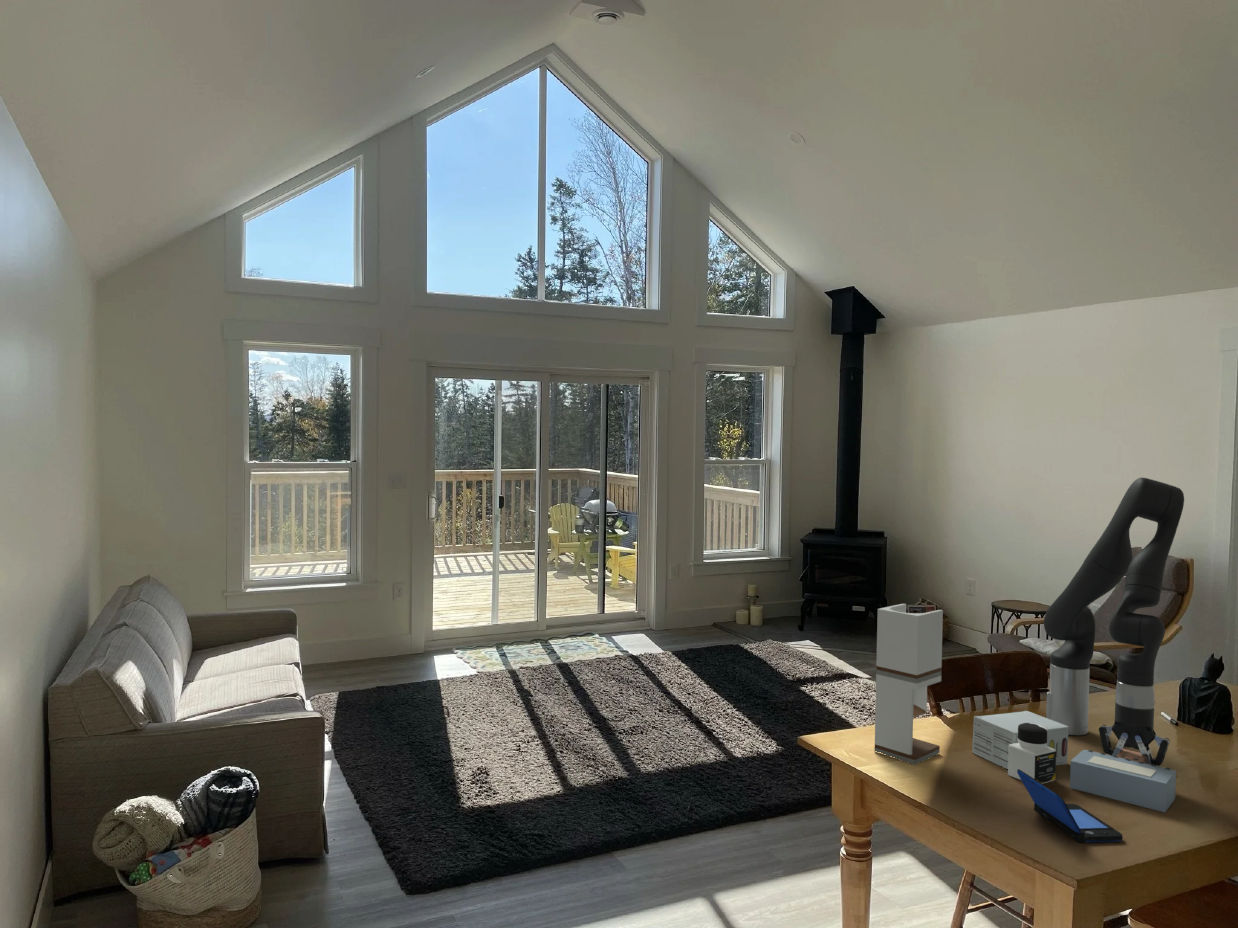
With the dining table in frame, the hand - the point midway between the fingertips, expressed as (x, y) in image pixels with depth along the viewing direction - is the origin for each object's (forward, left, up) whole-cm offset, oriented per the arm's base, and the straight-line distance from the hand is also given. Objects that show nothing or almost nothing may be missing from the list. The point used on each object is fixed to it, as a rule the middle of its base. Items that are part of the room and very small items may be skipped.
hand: (1132, 777), depth 195 cm
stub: (0, 0, -1) cm, 1 cm away
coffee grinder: (-44, -19, -1) cm, 48 cm away
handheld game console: (-4, -35, -1) cm, 35 cm away
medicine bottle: (-17, -14, -1) cm, 22 cm away
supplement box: (-23, -3, -1) cm, 23 cm away
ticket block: (0, -9, -1) cm, 9 cm away
